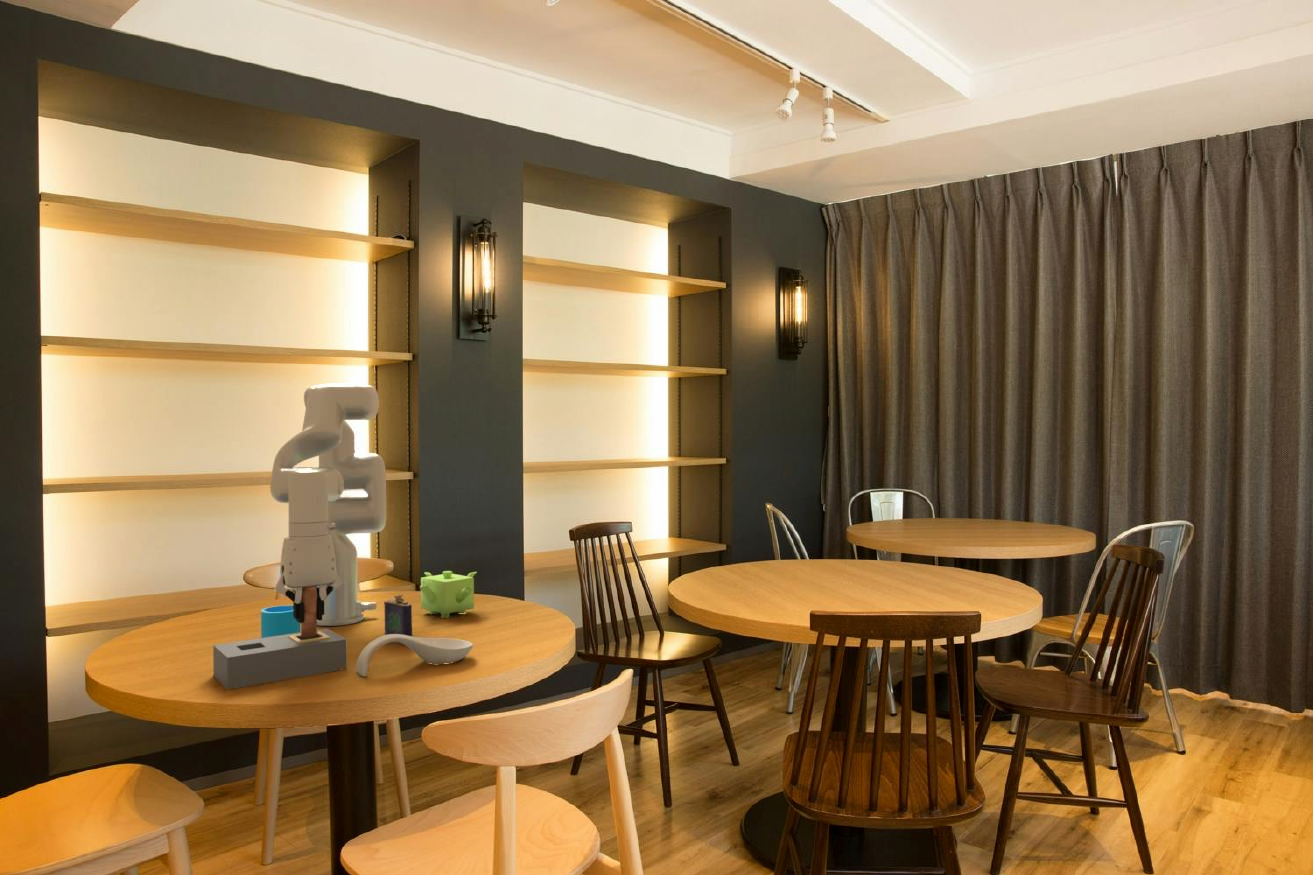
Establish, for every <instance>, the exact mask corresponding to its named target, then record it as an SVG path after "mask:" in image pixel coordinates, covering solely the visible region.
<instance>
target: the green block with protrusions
mask: <svg viewBox="0 0 1313 875" xmlns="http://www.w3.org/2000/svg"><path fill="white" fill-rule="evenodd" d="M476 574H477V571H473V572H469V573H468V574H467V575H462V574H456V573H453V571H451V570H444V571H442V574H436V575H433V574H431V573H430V572H427V571H425V572H424V575H425V576H424V577H420V586H419V589H420V609H421V610H426V611H429V612H428V614H436V613H437V614H438V613H439V614H441V615H440V618H441V617H448V618H450V614H453V613H457V614H458V613H464V612H466V611H468V610H472V609H475V578H474V576H475V575H476ZM437 614H436V615H437Z"/></svg>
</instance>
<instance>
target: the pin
mask: <svg viewBox="0 0 1313 875" xmlns="http://www.w3.org/2000/svg"><path fill="white" fill-rule="evenodd" d="M301 600H302V603H304V622H303V623H301V637H313V636H316V635H317V630H318V625H317V586H311V587H302V596H301Z"/></svg>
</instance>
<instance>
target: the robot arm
mask: <svg viewBox="0 0 1313 875" xmlns="http://www.w3.org/2000/svg"><path fill="white" fill-rule="evenodd" d="M303 402H304V406H305V412H304V419H303V423H302V430H301V431H299V433H297V434H295V435H294V436H293V437H291V438H290V439H289V440H288V441H286V442H285V443H284V444H283V445H282V446H281V448H280V449H279V450H278V452H277V453H276V455H275V458H274V461H273V465H272V470H271V476H270V483H269V484H270V485H269V489H270V494H271V496H272V498H273V500H275V501H276V502H277V503H280V504H281V503H282V504H288V537H284V538H283V542H282V547H281V554H280V565H279V566H280V567H279V579H278V580H277V582H276V584H275V587H274V588H273V590H274V592H276V593H278V594H280V595H282V596H286V597H287V598H288V599H289V600H291V602H292V604H293V605H292V606H293V616H294V619H296V621H297V622H299V623H303V622H304V603H302V600H301V596H302V587H311V586H317V626H320V627H322V626H323V627H334V626H335V627H336V626H338V627H339V626H346V625H351V624H357V623H359V622H362V621H363V620H364V619H365V614H364V612H365V611H374V610H376V609H377V608H378V607H377V603H376V602H377V601H373V602H368V601H367V602H361V601H360V600H358V551H357V548H356V546H355V544H354V543H353V542H352V541H351V540H350V538H349V537H348V536H347V535H352V534H374V533H379V532H382V531H383V530H384V529H385V527H386V523H387V476H386V472H387V471H386V464H385V461H384V459H383V457H382V456H381V455H379V454H377V453H372V452H361V453H360V452H359V453H358V452H356V451H355V433H354V430H353V429H352V428H351V425H349V423H348V422H347V421H370V420H374V418H376V416H377V414H378V412H379V407H380V397H379V393H378V391H377V389H376V388H375V387H374V386H373V385H367V384H363V383H362V384H358V383H324V384H318V385H312V386H310V387H308V388H307V389H305V391H304V393H303ZM315 457H318V467H311V466H310V467H309V466H308V467H306V466H303V467H300V466H299V467H295V466H297V465H298V464H299V463H302V462H304V461H307V460H309V459H312V458H315ZM344 491H345V492H346V491H352V492H353V491H364V492H365V493H366V494H367V495H342V494H343V492H344ZM285 586H286V587H287V588H289V589H287V588H286V587H285ZM290 589H291V590H290Z"/></svg>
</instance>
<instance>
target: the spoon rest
mask: <svg viewBox="0 0 1313 875" xmlns="http://www.w3.org/2000/svg"><path fill="white" fill-rule="evenodd" d="M394 642H396V643H397V642H399V643H402V644H404V645H403V646H405V647H407V648H408V649H410V650H411V651H413V653H415V654H416V655H417V656H419V658H420V659H422V660H423V661H425V662H426V663H427V662H428V663H432V664H444V663H451V662H454V663H456V662H455V661H457V662H458V661H460V660H462V659H463V658H464V657H466V656H468V654H469V653H470V652H471V650H472V649H473V647H474V644H473V642H470V641H468V640H464V639H460V638H459V639H458V638H448V637H445V638H444V637H442V638H441V637H436V638H435V637H417V636H413V635H412V636H407V635H401V634H388V635H385V634H383V635H381V636H378V637H377V638H374V639H373V640H372V641H370V642H369V643H367V645H365V647H364V648H363V649H362V650H361V651H360V654H359V655H358V658H357V661H356V664H355V665H356V666H355V673H357V674H358V675H360V676H361V677H365V678H366V677H367V676H368V672H369V671H368V670H369V662H370V659H371V657H372V655H373V654H374V652H376V650H378V649H379V648H380V647H383V646H385V645H386V644H389V643H394ZM399 643H398V644H399ZM402 644H401V645H402ZM428 663H427V664H428ZM451 664H452V663H451Z"/></svg>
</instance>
